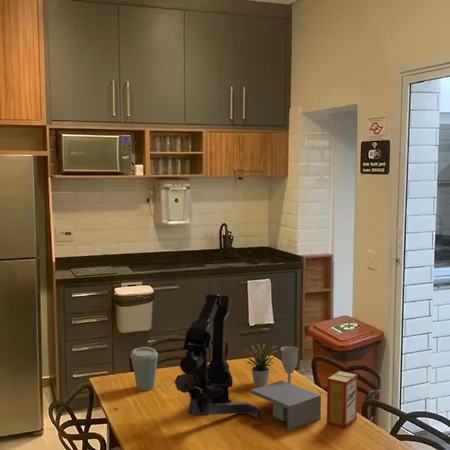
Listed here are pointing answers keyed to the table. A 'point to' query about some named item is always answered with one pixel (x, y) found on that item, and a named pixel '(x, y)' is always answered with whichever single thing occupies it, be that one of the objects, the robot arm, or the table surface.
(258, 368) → the house plant
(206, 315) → the robot arm
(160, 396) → the table surface
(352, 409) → the baking soda box
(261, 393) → the cubby
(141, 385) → the disposable coffee cup
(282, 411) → the block
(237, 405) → the dark grey hook tool
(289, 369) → the chalice
